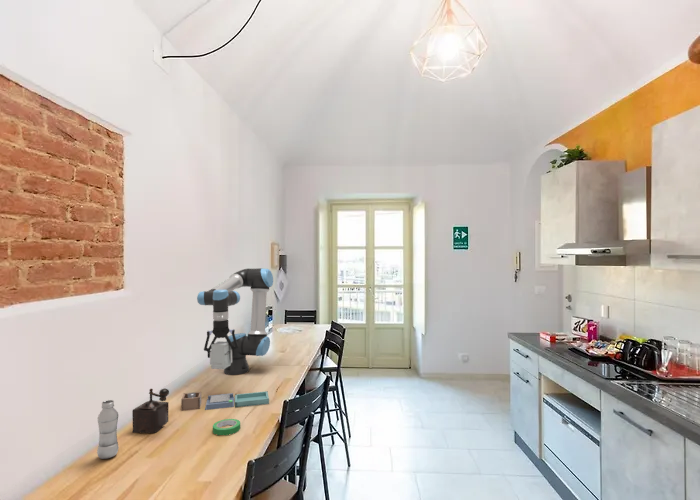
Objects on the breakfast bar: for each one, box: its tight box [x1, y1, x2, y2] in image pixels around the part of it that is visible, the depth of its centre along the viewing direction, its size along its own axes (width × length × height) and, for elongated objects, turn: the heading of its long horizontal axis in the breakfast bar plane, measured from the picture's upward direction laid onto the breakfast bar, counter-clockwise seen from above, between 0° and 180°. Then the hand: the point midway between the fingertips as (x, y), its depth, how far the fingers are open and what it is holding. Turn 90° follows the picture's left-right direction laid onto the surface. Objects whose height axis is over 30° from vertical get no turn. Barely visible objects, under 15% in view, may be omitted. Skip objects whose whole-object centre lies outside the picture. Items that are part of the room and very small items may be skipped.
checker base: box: [204, 392, 235, 411], centre depth 192 cm, size 13×13×4 cm
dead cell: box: [187, 392, 196, 398], centre depth 189 cm, size 4×4×6 cm
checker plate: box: [210, 393, 230, 404], centre depth 192 cm, size 9×9×1 cm
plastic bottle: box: [96, 399, 119, 460], centre depth 144 cm, size 6×7×20 cm
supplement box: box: [210, 340, 231, 370], centre depth 204 cm, size 7×7×13 cm
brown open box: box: [180, 391, 202, 411], centre depth 189 cm, size 8×8×6 cm
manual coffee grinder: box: [131, 388, 170, 434], centre depth 167 cm, size 16×11×18 cm
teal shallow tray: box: [234, 390, 270, 409], centre depth 196 cm, size 11×16×2 cm
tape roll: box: [212, 418, 241, 436], centre depth 165 cm, size 11×11×3 cm
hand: (221, 362), depth 204 cm, fingers closed on supplement box, 9 cm apart
